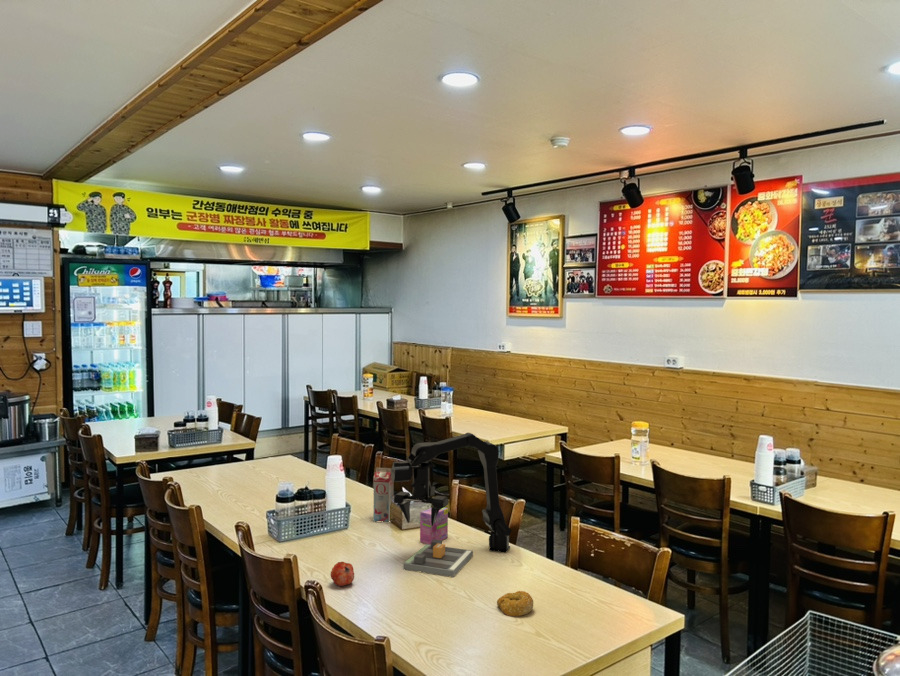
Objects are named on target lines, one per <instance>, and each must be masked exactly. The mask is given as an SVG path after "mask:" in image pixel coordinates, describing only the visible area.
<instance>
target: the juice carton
mask: <svg viewBox="0 0 900 676" xmlns="http://www.w3.org/2000/svg"><path fill="white" fill-rule="evenodd" d="M391 470H392V467H391V468H389V467H375V473H374V475H373V522H374V521H383V522H389V521H390V505H391V500H392V499H393V500H394V496H395V494H394V483H395V482H393V481H392V478H391ZM390 522H391V521H390ZM390 522H389V523H390Z"/></svg>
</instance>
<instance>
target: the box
mask: <svg viewBox="0 0 900 676" xmlns="http://www.w3.org/2000/svg"><path fill="white" fill-rule="evenodd" d="M431 508H432V507H430V508H428V509H425V510H421V511H420V512H419V515H420V516H419V518H420V519H419V523H420V525H419V543H421V544H424V543H425V544H424V545H426V544H430V545H431V542H432V541H433V540H434V539H435V540H442V541H443V540H446V539H447V538H449V537H448V536H449V535H448V533H449V530H448V529H449V528H448V527H449V523H448V522H449V520H448V519H449V508H448V507H446V506H445V507H444V508H442V509H440V510H439V512H438V514H437V517H436V520H435V523H434V525H433V526H432V524H431Z"/></svg>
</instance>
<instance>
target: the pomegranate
mask: <svg viewBox="0 0 900 676" xmlns="http://www.w3.org/2000/svg"><path fill="white" fill-rule="evenodd" d="M330 578H331V579H332V581H333V584H334V585H335V586H339V587H345V586H347V585H350V584H352V583H353V581H354V580H355V572H354V567H353V565H352V564H351V563H349V562H345V561H339V562H337V563H335V564H334V566H333V567H332V569H331V571H330Z"/></svg>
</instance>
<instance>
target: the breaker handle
mask: <svg viewBox="0 0 900 676" xmlns="http://www.w3.org/2000/svg"><path fill="white" fill-rule="evenodd" d="M445 547H446V544H445V543H442V544H439V543H437V544H436V545H435V546H434V547H433V557H436V558H442V557H443V556H444V555H445Z"/></svg>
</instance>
